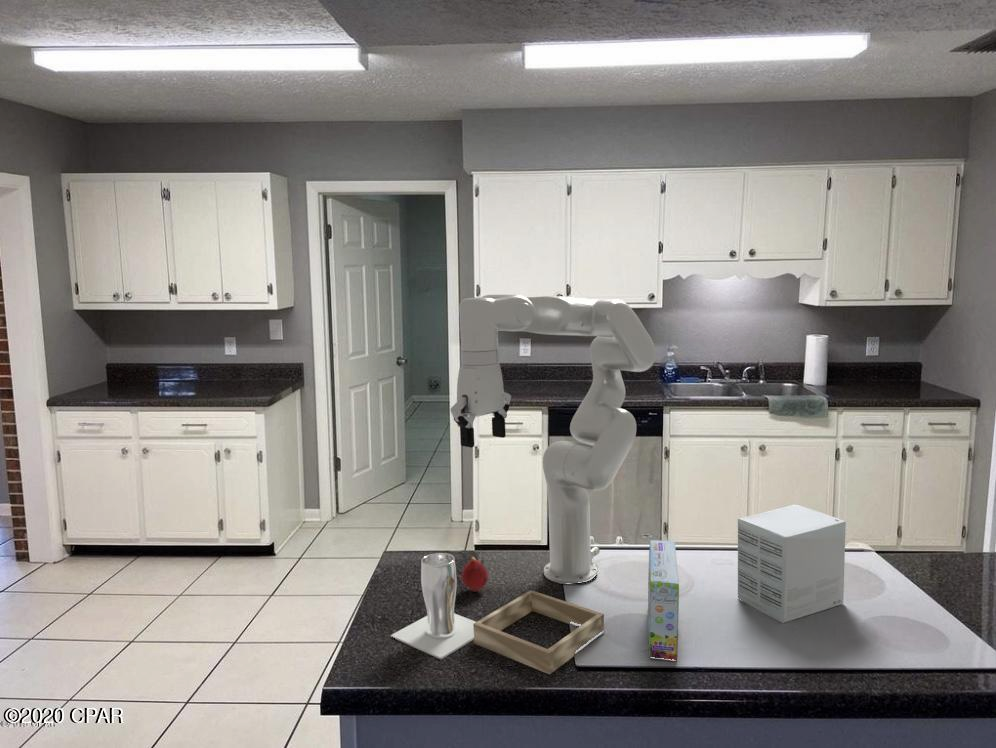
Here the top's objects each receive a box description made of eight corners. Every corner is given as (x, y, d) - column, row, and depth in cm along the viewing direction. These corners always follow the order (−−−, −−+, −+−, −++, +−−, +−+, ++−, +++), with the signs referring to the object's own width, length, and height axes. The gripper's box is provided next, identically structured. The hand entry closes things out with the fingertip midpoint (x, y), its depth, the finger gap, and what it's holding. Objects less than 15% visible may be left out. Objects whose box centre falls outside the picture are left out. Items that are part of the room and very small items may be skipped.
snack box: (680, 663, 128) (680, 583, 126) (648, 660, 129) (647, 582, 127) (675, 608, 149) (675, 539, 146) (648, 606, 150) (647, 538, 148)
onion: (492, 588, 161) (491, 554, 160) (481, 598, 156) (480, 564, 155) (469, 584, 164) (468, 550, 163) (458, 594, 159) (456, 560, 158)
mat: (440, 610, 152) (440, 608, 152) (490, 629, 143) (490, 627, 143) (390, 636, 141) (390, 635, 141) (441, 659, 132) (441, 657, 132)
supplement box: (793, 581, 159) (795, 502, 157) (845, 604, 147) (848, 520, 145) (734, 598, 152) (735, 517, 149) (783, 625, 140) (785, 537, 137)
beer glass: (466, 628, 143) (462, 556, 141) (444, 643, 137) (440, 569, 135) (439, 619, 147) (435, 550, 145) (416, 634, 141) (412, 561, 139)
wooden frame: (531, 607, 151) (530, 590, 150) (604, 633, 139) (603, 613, 139) (474, 643, 138) (473, 623, 137) (549, 674, 126) (548, 653, 125)
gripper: (494, 353, 153) (497, 431, 156) (436, 363, 140) (441, 448, 143) (521, 354, 148) (524, 435, 151) (464, 365, 135) (468, 453, 138)
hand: (483, 441), depth 147 cm, fingers open, 9 cm apart
